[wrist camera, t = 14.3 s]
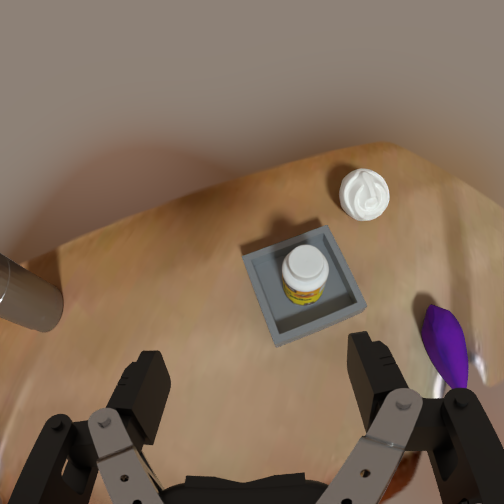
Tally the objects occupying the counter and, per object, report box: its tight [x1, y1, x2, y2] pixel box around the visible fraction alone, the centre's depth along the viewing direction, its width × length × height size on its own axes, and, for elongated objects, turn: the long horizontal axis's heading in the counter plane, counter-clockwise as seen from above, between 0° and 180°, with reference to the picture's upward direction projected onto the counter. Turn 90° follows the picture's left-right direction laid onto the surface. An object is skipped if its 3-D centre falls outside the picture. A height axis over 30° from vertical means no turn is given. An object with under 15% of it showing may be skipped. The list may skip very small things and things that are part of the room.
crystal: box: [421, 304, 468, 389], centre depth 36 cm, size 5×5×15 cm
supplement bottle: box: [282, 245, 329, 306], centre depth 39 cm, size 6×6×10 cm
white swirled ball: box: [339, 169, 390, 221], centre depth 45 cm, size 8×8×8 cm
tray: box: [242, 225, 367, 348], centre depth 43 cm, size 13×13×4 cm
